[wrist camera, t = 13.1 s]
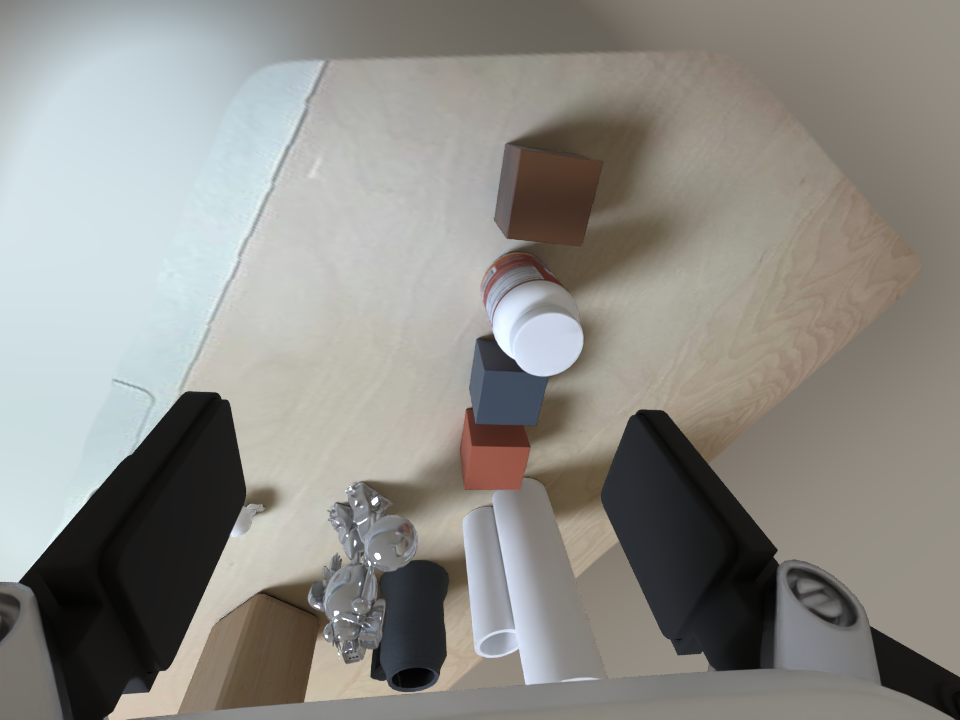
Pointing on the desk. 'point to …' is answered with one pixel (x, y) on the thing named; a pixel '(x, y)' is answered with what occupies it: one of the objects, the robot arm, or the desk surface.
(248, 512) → the rabbit figurine
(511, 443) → the block
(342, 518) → the robot toy
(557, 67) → the desk surface
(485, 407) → the block
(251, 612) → the wooden block
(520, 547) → the vase
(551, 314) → the pill bottle
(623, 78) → the desk surface
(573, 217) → the block
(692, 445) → the robot arm
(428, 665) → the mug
